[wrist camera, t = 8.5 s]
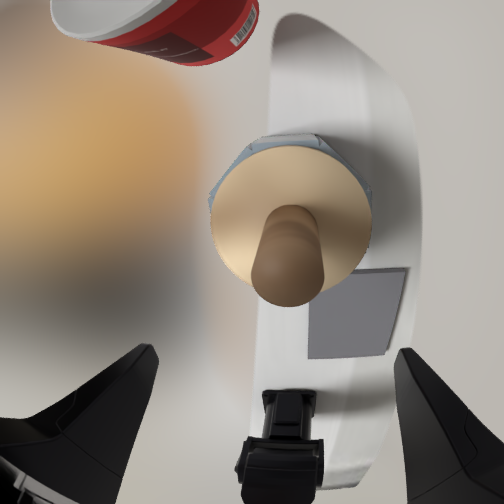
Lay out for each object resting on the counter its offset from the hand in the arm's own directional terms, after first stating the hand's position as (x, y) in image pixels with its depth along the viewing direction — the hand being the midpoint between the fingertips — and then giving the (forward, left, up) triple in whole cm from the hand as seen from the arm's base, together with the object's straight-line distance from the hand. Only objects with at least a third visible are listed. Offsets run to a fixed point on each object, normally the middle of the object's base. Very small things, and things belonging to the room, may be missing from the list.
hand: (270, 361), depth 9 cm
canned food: (+16, +4, -13) cm, 21 cm away
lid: (+2, 0, -8) cm, 8 cm away
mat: (-9, -5, -13) cm, 17 cm away
